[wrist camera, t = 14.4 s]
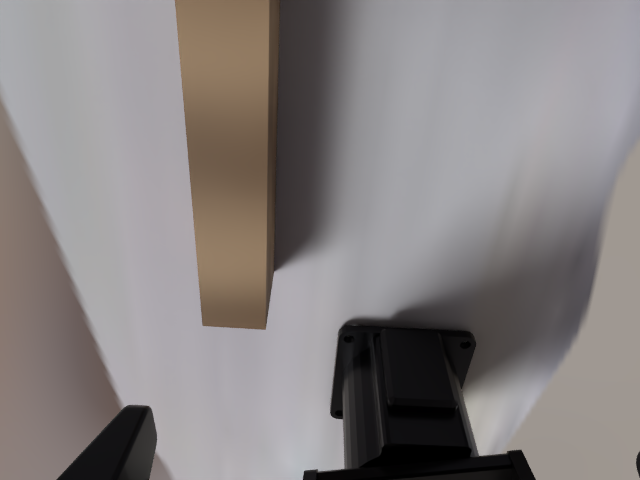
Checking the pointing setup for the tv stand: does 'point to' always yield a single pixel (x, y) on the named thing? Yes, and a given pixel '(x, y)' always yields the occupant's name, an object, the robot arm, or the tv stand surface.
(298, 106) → the tv stand surface
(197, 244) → the brown wooden bar
